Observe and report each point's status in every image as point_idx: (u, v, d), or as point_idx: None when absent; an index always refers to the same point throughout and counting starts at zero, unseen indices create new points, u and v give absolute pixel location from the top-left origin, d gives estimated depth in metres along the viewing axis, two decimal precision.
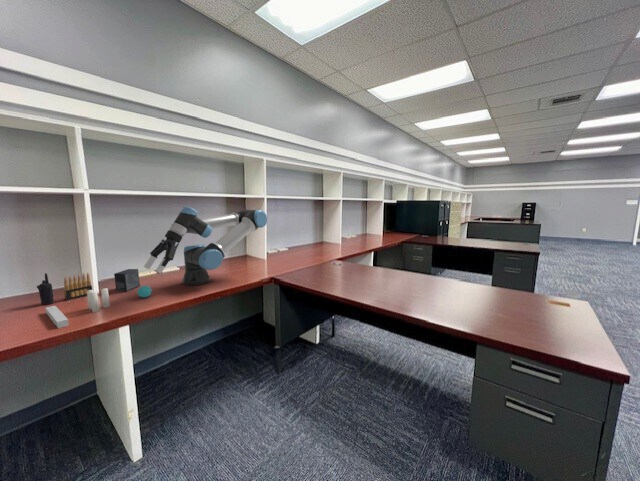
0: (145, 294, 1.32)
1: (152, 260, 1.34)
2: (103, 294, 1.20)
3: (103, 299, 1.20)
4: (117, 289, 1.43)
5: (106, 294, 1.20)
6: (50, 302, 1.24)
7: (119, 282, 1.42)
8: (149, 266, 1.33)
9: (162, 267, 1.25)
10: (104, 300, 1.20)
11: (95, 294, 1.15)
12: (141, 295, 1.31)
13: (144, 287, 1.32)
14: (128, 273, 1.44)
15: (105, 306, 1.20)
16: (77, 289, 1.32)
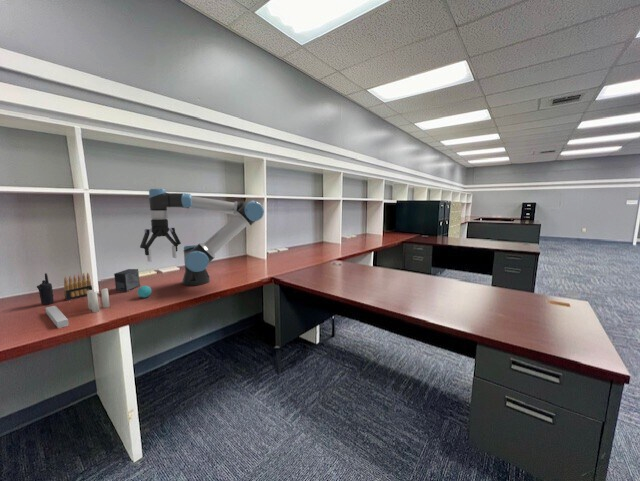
0: (145, 294, 1.32)
1: (173, 249, 1.43)
2: (103, 294, 1.20)
3: (103, 299, 1.20)
4: (117, 289, 1.43)
5: (106, 294, 1.20)
6: (50, 302, 1.24)
7: (119, 282, 1.42)
8: (174, 255, 1.44)
9: (148, 256, 1.34)
10: (104, 300, 1.20)
11: (95, 294, 1.15)
12: (141, 295, 1.31)
13: (144, 287, 1.32)
14: (128, 273, 1.44)
15: (105, 306, 1.20)
16: (77, 289, 1.32)
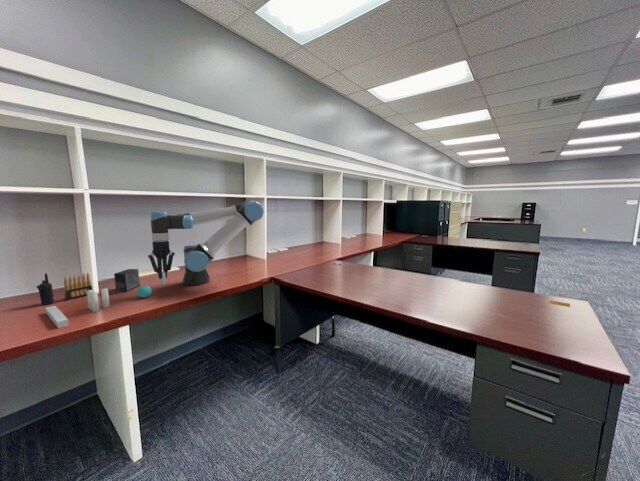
0: (145, 294, 1.32)
1: None
2: (103, 294, 1.20)
3: (103, 299, 1.20)
4: (117, 289, 1.43)
5: (106, 294, 1.20)
6: (50, 302, 1.24)
7: (119, 282, 1.42)
8: None
9: (161, 279, 1.40)
10: (104, 300, 1.20)
11: (95, 294, 1.15)
12: (141, 295, 1.31)
13: (144, 287, 1.32)
14: (128, 273, 1.44)
15: (105, 306, 1.20)
16: (77, 289, 1.32)
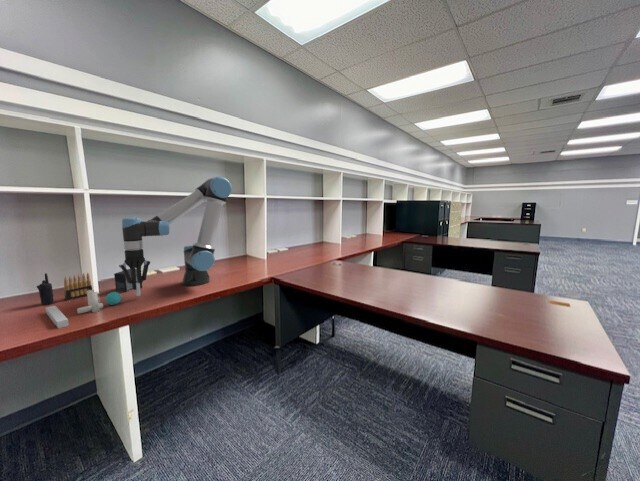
0: (114, 297, 1.22)
1: None
2: (85, 311, 1.15)
3: None
4: (117, 289, 1.43)
5: (85, 309, 1.15)
6: (50, 302, 1.24)
7: (119, 282, 1.42)
8: None
9: (136, 290, 1.30)
10: None
11: (95, 294, 1.15)
12: (115, 293, 1.23)
13: (120, 300, 1.25)
14: None
15: (101, 307, 1.19)
16: (77, 289, 1.32)
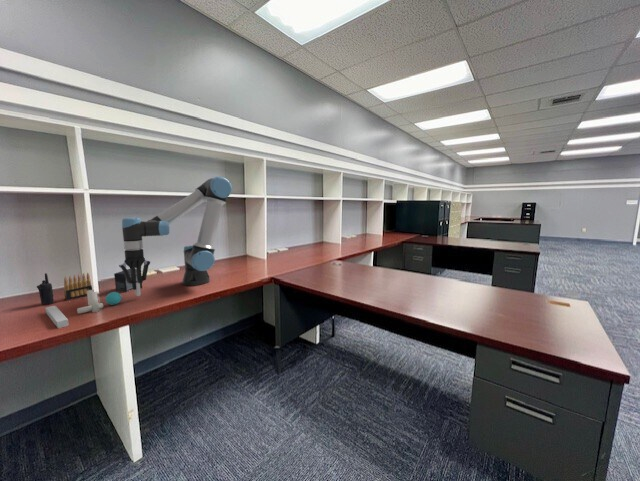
0: (114, 297, 1.22)
1: None
2: (85, 311, 1.15)
3: None
4: (117, 289, 1.43)
5: (85, 309, 1.15)
6: (50, 302, 1.24)
7: (119, 282, 1.42)
8: None
9: (136, 290, 1.30)
10: None
11: (95, 294, 1.15)
12: (115, 293, 1.23)
13: (120, 300, 1.25)
14: None
15: (101, 307, 1.19)
16: (77, 289, 1.32)
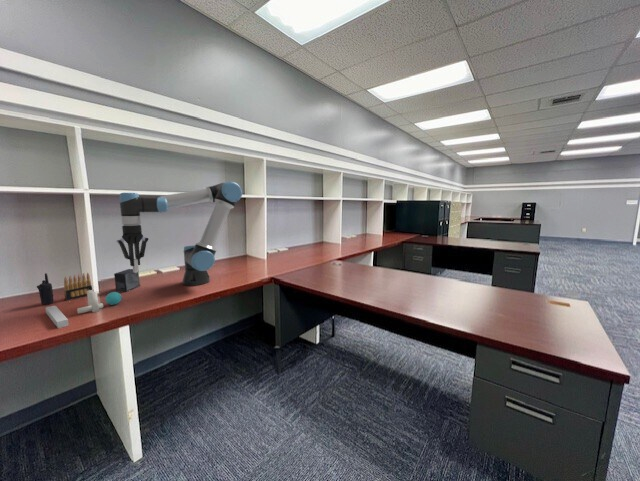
0: (114, 297, 1.22)
1: None
2: (85, 311, 1.15)
3: None
4: (117, 289, 1.43)
5: (85, 309, 1.15)
6: (50, 302, 1.24)
7: (119, 282, 1.42)
8: None
9: (134, 267, 1.29)
10: None
11: (95, 294, 1.15)
12: (115, 293, 1.23)
13: (120, 300, 1.25)
14: (128, 273, 1.44)
15: (101, 307, 1.19)
16: (77, 289, 1.32)
